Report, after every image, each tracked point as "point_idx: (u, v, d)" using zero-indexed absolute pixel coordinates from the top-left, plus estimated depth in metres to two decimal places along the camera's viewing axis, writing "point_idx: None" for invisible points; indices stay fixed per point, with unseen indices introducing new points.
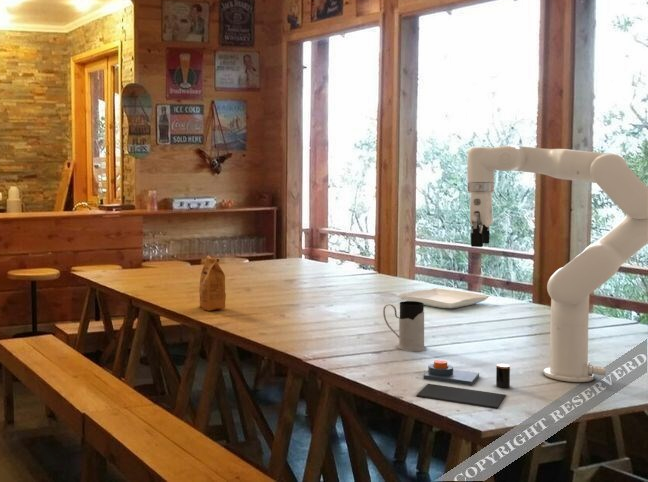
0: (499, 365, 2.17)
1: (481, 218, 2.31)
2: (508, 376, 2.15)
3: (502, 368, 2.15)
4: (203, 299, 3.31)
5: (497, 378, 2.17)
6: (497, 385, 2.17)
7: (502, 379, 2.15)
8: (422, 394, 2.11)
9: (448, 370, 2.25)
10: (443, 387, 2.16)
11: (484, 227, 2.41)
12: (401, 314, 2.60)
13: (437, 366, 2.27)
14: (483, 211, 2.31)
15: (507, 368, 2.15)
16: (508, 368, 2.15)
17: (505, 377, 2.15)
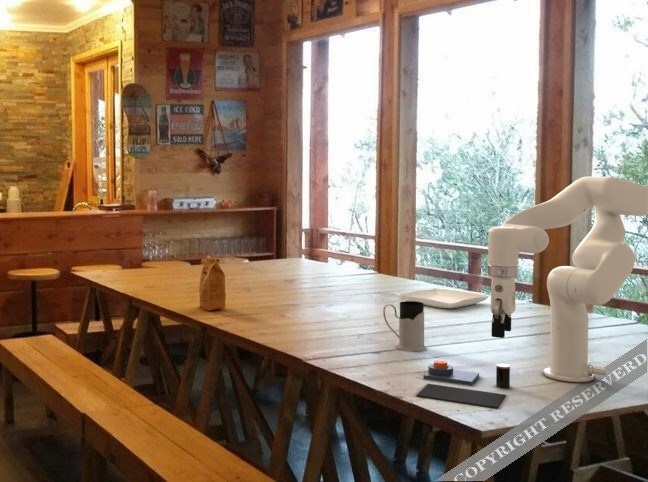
0: (499, 365, 2.17)
1: (503, 306, 2.11)
2: (508, 376, 2.15)
3: (502, 368, 2.15)
4: (203, 299, 3.31)
5: (497, 378, 2.17)
6: (497, 385, 2.17)
7: (502, 379, 2.15)
8: (422, 394, 2.11)
9: (448, 370, 2.25)
10: (443, 387, 2.16)
11: (505, 313, 2.20)
12: (401, 314, 2.60)
13: (437, 366, 2.27)
14: (505, 299, 2.11)
15: (507, 368, 2.15)
16: (508, 368, 2.15)
17: (505, 377, 2.15)
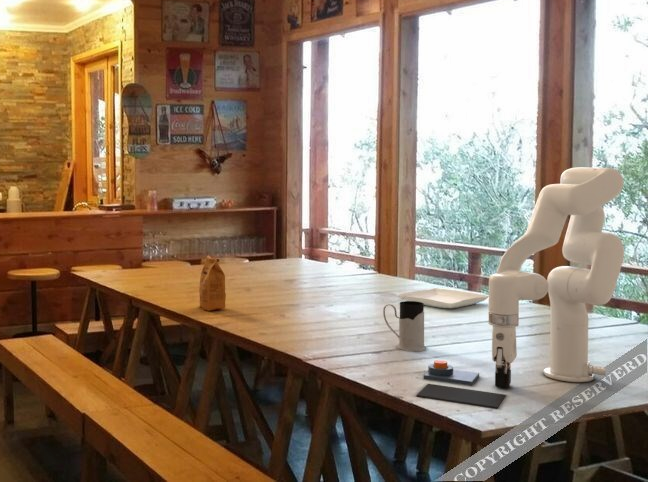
0: None
1: (504, 355, 2.11)
2: (508, 376, 2.15)
3: None
4: (203, 299, 3.31)
5: None
6: None
7: None
8: (422, 394, 2.11)
9: (448, 370, 2.25)
10: (443, 387, 2.16)
11: None
12: (401, 314, 2.60)
13: (437, 366, 2.27)
14: (507, 347, 2.11)
15: (507, 368, 2.15)
16: (508, 368, 2.15)
17: None
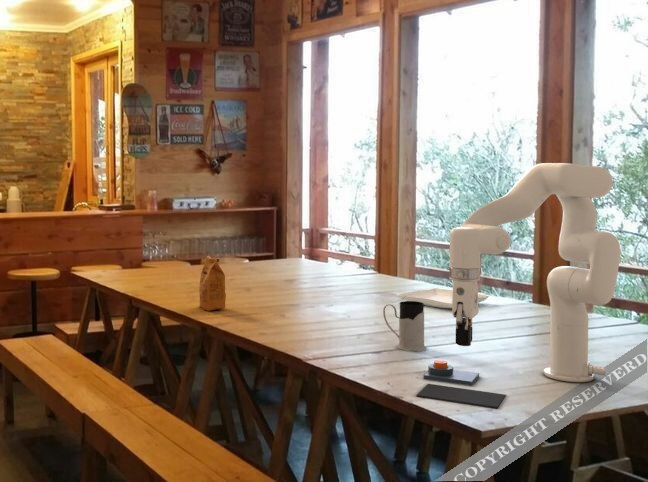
0: None
1: (465, 310, 2.04)
2: (469, 333, 2.08)
3: None
4: (203, 299, 3.31)
5: None
6: None
7: None
8: (422, 394, 2.11)
9: (448, 370, 2.25)
10: (443, 387, 2.16)
11: None
12: (401, 314, 2.60)
13: (437, 366, 2.27)
14: (467, 302, 2.04)
15: (468, 324, 2.08)
16: (469, 324, 2.08)
17: None
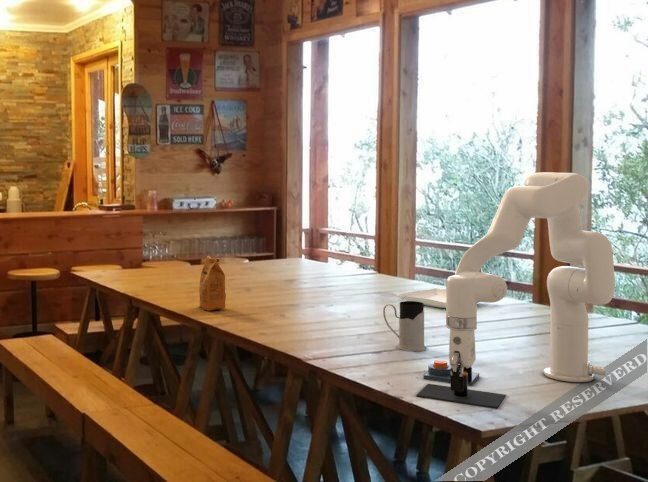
0: None
1: (462, 359, 2.04)
2: (466, 383, 2.08)
3: None
4: (203, 299, 3.31)
5: None
6: (454, 393, 2.09)
7: None
8: (422, 394, 2.11)
9: (448, 370, 2.25)
10: (443, 387, 2.16)
11: None
12: (401, 314, 2.60)
13: (437, 366, 2.27)
14: (464, 351, 2.04)
15: (464, 375, 2.08)
16: (465, 375, 2.08)
17: None
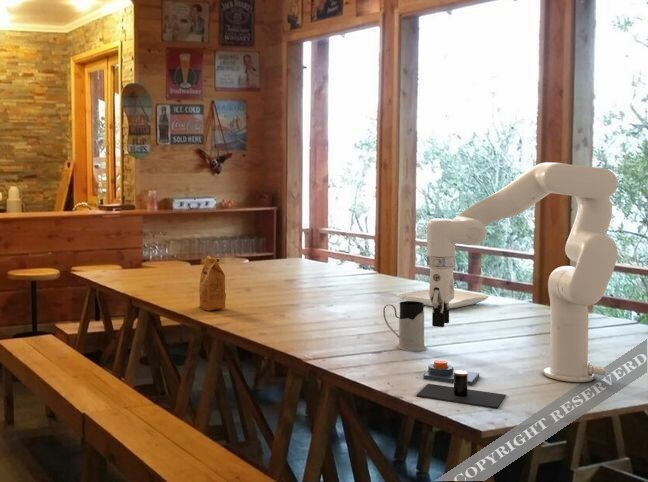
0: (456, 372, 2.09)
1: (441, 295, 2.22)
2: (466, 383, 2.08)
3: (459, 375, 2.08)
4: (203, 299, 3.31)
5: (454, 385, 2.09)
6: (454, 393, 2.09)
7: (459, 386, 2.08)
8: (422, 394, 2.11)
9: (448, 370, 2.25)
10: (443, 387, 2.16)
11: (444, 306, 2.29)
12: (401, 314, 2.60)
13: (437, 366, 2.27)
14: (443, 287, 2.21)
15: (464, 375, 2.08)
16: (465, 375, 2.08)
17: (462, 384, 2.08)
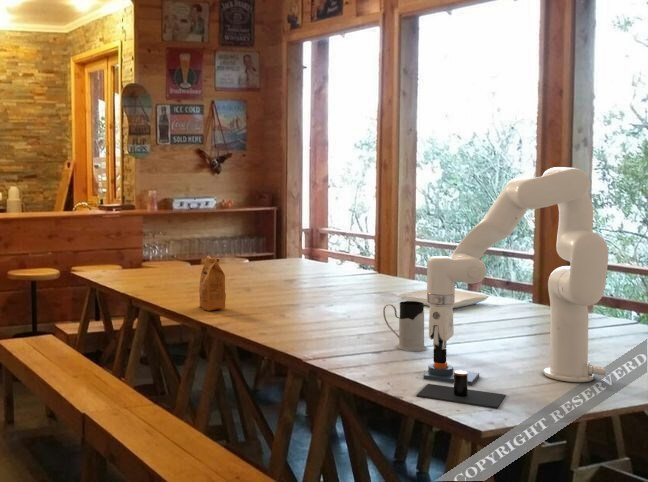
0: (456, 372, 2.09)
1: (440, 333, 2.22)
2: (466, 383, 2.08)
3: (459, 375, 2.08)
4: (203, 299, 3.31)
5: (454, 385, 2.09)
6: (454, 393, 2.09)
7: (459, 386, 2.08)
8: (422, 394, 2.11)
9: (448, 370, 2.25)
10: (443, 387, 2.16)
11: None
12: (401, 314, 2.60)
13: (437, 367, 2.27)
14: (442, 325, 2.22)
15: (464, 375, 2.08)
16: (465, 375, 2.08)
17: (462, 384, 2.08)
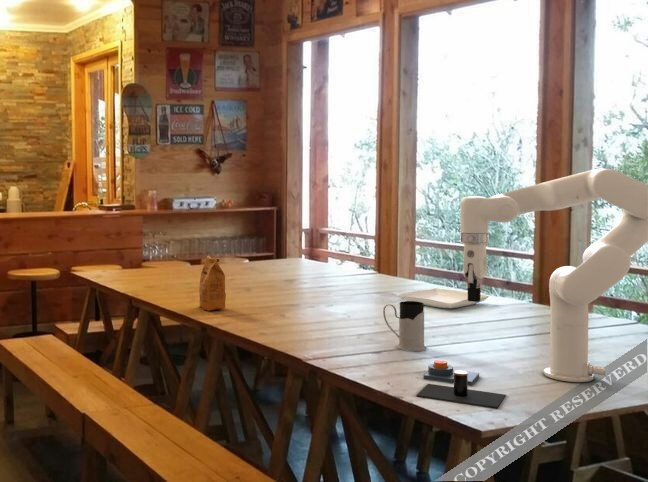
0: (456, 372, 2.09)
1: (475, 270, 2.26)
2: (466, 383, 2.08)
3: (459, 375, 2.08)
4: (203, 299, 3.31)
5: (454, 385, 2.09)
6: (454, 393, 2.09)
7: (459, 386, 2.08)
8: (422, 394, 2.11)
9: (448, 370, 2.25)
10: (443, 387, 2.16)
11: None
12: (401, 314, 2.60)
13: (437, 366, 2.27)
14: (477, 263, 2.25)
15: (464, 375, 2.08)
16: (465, 375, 2.08)
17: (462, 384, 2.08)
